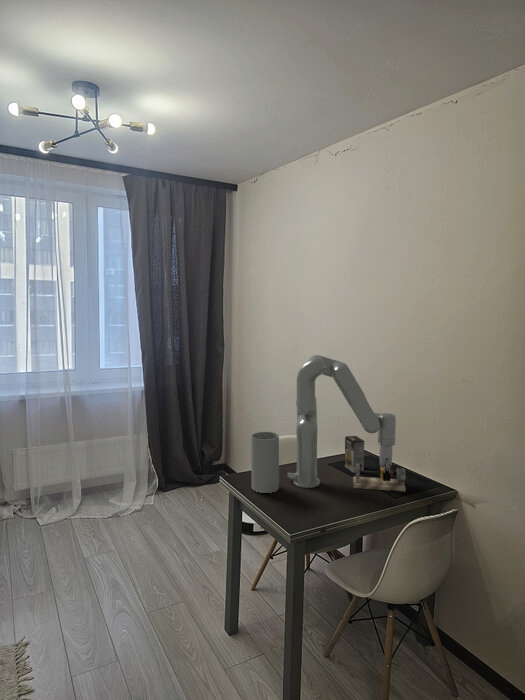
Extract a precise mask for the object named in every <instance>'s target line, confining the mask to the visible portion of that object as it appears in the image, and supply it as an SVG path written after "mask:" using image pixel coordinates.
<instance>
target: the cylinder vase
mask: <svg viewBox="0 0 525 700" xmlns="http://www.w3.org/2000/svg"><path fill="white" fill-rule="evenodd" d="M250 440H251V441H250V442H251V443H250V446H251V447H250V449H251V453H250V454H251V456H250V457H251V461H250V462H251V470H250V472H251V489H253V490H254V491H253V490H252V491H253V492H255V491H256V492H255V493H257V492H260V493H270V494H273V493H272V492H274V493H276V492H278V490H279V489H280V435H279V434H278V433H277V432H272V431H258V432H254V433H252V434H251V436H250ZM260 493H259V494H260Z"/></svg>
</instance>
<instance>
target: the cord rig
mask: <svg viewBox="0 0 525 700" xmlns="http://www.w3.org/2000/svg"><path fill="white" fill-rule="evenodd" d="M395 470H396V472H394V471H393V470H391V469H390V473H391V475H390V481H383V479H381V477H366V476H361V475H360V474H373V475H380V474H381V472H380V471H379V470H378V471H377V470H364V471H363V470H360V464H356V472H355V476H353V477H352V485H353V486H352V487H353V489H364V490H379V491H391V490H393V492H396V491H397V492H406V489H407V488H406V485H405V481H406V469H405V468H397V467H396V469H395ZM393 476H395V479H394V478H392V477H393Z"/></svg>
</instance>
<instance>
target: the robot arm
mask: <svg viewBox="0 0 525 700" xmlns="http://www.w3.org/2000/svg"><path fill="white" fill-rule="evenodd" d="M321 375H323V376H327V377H330V378H332V379H333V380H334V383H335V384H336V387H338V389H339V390H340V392H341V393H342V396H343V397H344V398H345V400H346V402H347V404H348V405H349V407H350V408H351V410H352V411H353V413H354V414H355V416H356V419H358V421H359V423H360V425H361V427H362V428H363V430H364V431H365V432H366V433H369V434H376V433H378V436H377V438H378V439H377V444H378V445H380V446H379V466H380V468H381V467H384V472H383V481H390V479H391V477H390V475H391V473H390V470H391V468H392V464H393V447H394V446H396V428H397V427H396V424H397V423H396V422H397V421H396V420H397V419H396V418H397V417H396V416H395V414H392V413H388V412H387V413H385V412H384V413H379V412H374V411H373V409H372V407H371V405H370V403H369V401H368V400H367V397H366V395H365V393H364V391H363V390H362V387H361V386H360V384H359V383H358V381H357V380H356V378H355V376H354V375H353V373H352V371H351V369H350V368H349V366H348V365H347V363H345V362H344V361H340V360H336V359H332V358H329V357H325V356H322V355H318V354H316V355H313V356H311V357H309V359H308V361H307V362H305V363H304V364H303V365H302V366H301V368H300V369H299V370H298V373H297V376H296V403H295V405H296V413H297V414H296V415H297V416H296V421H297V422H296V431H295V432H296V434H295V435H296V472H294V473H293V472H287V478H289V479H292V480H293V484H294V485H295V486H297V487H299V488H304V489H311V488H312V489H313V488H315V487H318V486H320V485H321V480H320V478H318V417H317V415H318V412H317V397H316V380H317V378H318V377H320V376H321Z"/></svg>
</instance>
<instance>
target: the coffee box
mask: <svg viewBox="0 0 525 700" xmlns="http://www.w3.org/2000/svg"><path fill="white" fill-rule="evenodd" d="M364 463H365V440H364V439H362V438H361V437H359V436H358V435H347V436H346V435H345V436H344V467H345V468H346V469H347V470H349V471H350V472H351V473H355V474H356V464H360V470H363V471H365V470H364V467H365V466H364V465H365V464H364Z"/></svg>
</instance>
